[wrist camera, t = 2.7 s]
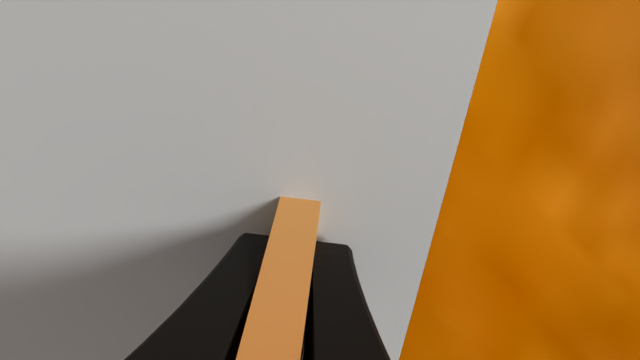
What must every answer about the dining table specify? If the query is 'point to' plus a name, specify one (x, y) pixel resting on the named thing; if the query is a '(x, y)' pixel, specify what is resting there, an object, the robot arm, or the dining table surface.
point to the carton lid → (220, 159)
